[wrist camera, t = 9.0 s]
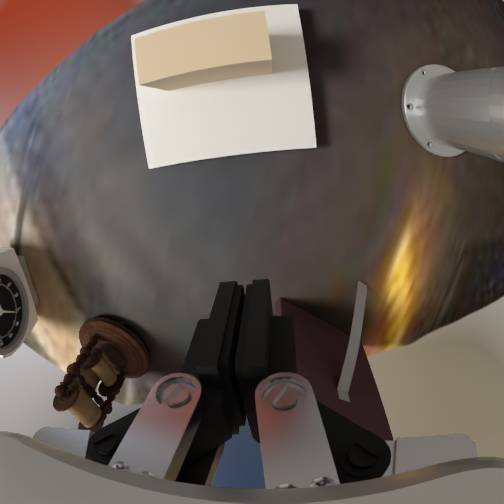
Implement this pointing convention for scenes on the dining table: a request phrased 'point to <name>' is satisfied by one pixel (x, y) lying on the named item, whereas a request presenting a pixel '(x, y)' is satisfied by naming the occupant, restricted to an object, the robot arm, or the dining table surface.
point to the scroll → (100, 370)
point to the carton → (205, 52)
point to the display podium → (233, 102)
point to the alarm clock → (15, 301)
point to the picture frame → (338, 366)
